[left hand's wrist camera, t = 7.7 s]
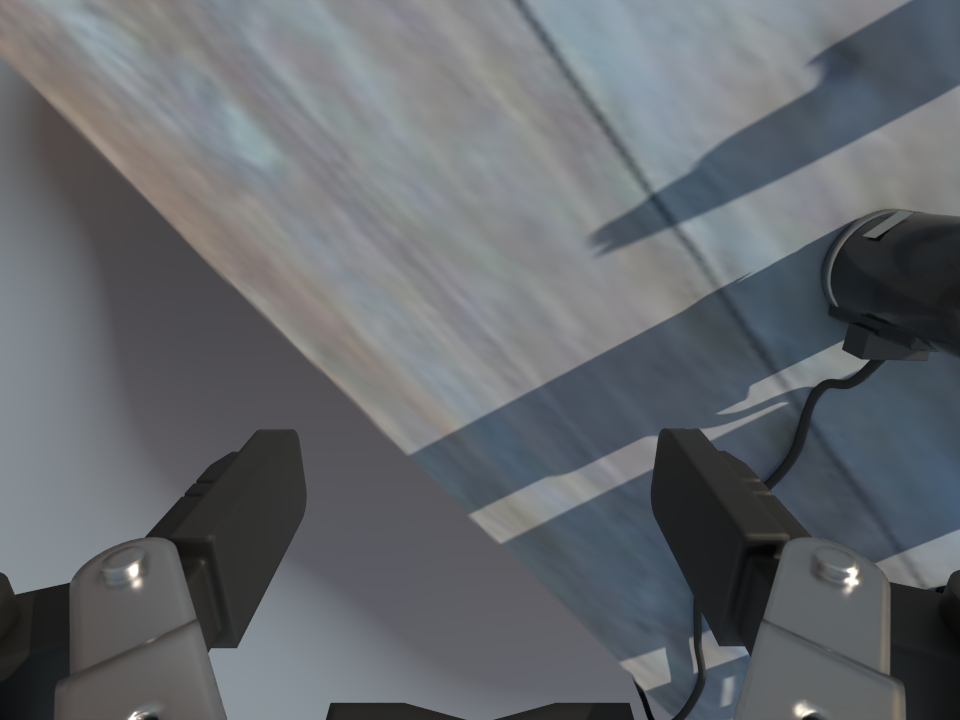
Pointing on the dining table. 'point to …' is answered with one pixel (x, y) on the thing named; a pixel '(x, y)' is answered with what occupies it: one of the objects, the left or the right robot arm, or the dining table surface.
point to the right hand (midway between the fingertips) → (817, 673)
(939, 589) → the right robot arm
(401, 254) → the dining table surface
